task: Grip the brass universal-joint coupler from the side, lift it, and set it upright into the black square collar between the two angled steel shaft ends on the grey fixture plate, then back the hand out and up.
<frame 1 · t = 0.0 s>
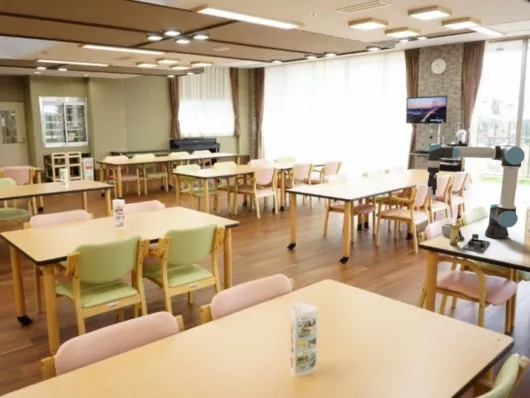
hand: (431, 197, 331), 28 cm above the table, tool pointing down, fingers open, 13 cm apart
grey fixture plate: (476, 246, 315), on the table
coupler: (453, 244, 318), on the table
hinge: (451, 237, 340), on the table
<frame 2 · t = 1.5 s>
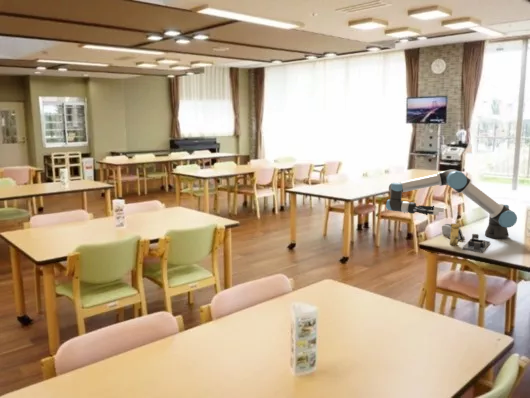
hand: (441, 211, 320), 21 cm above the table, tool horizontal, fingers open, 13 cm apart
nothing on the table moved.
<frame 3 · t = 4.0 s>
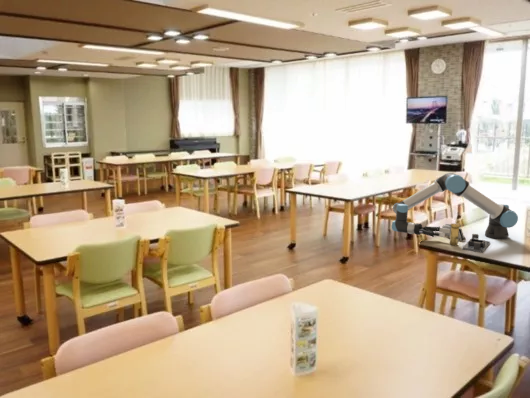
hand: (447, 233, 319), 7 cm above the table, tool horizontal, fingers open, 13 cm apart
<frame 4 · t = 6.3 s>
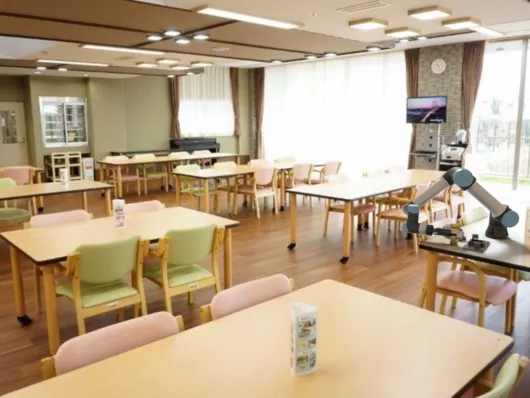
hand: (463, 234, 314), 8 cm above the table, tool horizontal, fingers closed on coupler, 5 cm apart
coupler: (453, 244, 318), on the table, touching gripper
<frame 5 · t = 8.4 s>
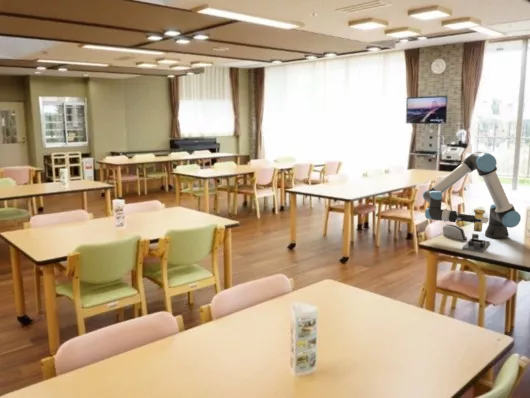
hand: (487, 220, 309), 18 cm above the table, tool horizontal, fingers closed on coupler, 5 cm apart
coupler: (477, 230, 313), point 10 cm above the table, touching gripper
when the fingers open (10 cm above the table, at t = 10.5 s): coupler drops 1 cm, resting on grey fixture plate.
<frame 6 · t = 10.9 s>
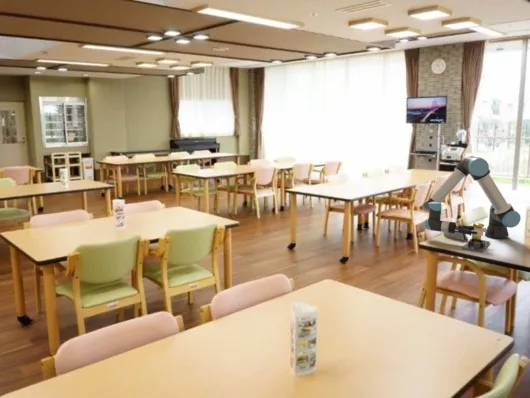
hand: (484, 231, 311), 10 cm above the table, tool horizontal, fingers open, 11 cm apart
coupler: (476, 244, 315), point 1 cm above the table, touching grey fixture plate
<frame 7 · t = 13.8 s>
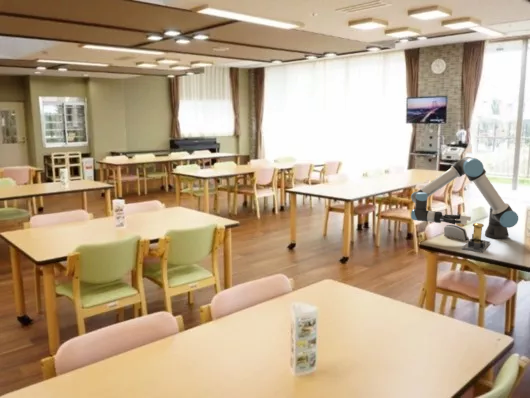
hand: (468, 220, 315), 16 cm above the table, tool horizontal, fingers open, 13 cm apart
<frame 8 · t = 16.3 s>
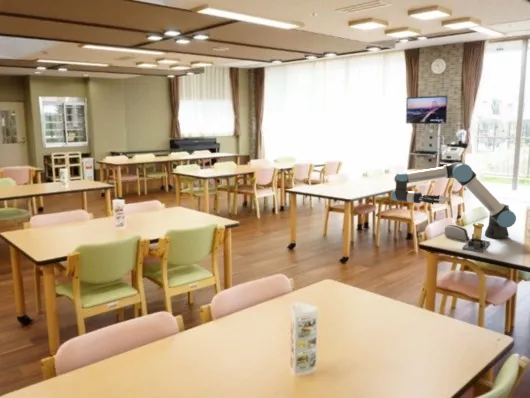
hand: (446, 200, 320), 28 cm above the table, tool horizontal, fingers open, 13 cm apart
at the end: coupler 0.1 cm off-centre on the grey fixture plate, point 1.2 cm above the grey fixture plate's base; coupler tilted 0°; the gripper is holding nothing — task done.
